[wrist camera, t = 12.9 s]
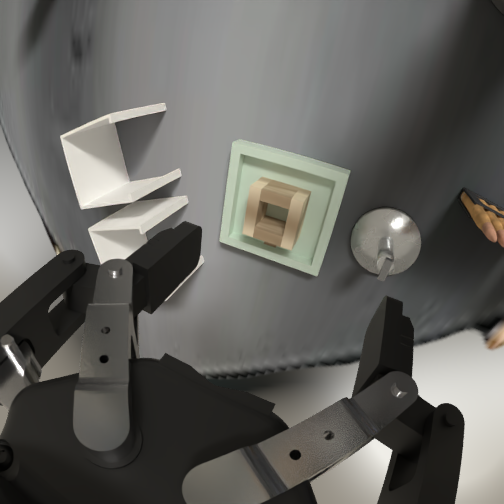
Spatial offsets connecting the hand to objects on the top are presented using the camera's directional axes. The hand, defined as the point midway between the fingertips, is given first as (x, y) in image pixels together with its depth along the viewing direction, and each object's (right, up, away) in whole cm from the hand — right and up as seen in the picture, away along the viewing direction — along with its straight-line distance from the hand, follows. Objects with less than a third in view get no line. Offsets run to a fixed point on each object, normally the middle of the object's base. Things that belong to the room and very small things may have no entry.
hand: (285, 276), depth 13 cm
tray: (+2, +7, +28) cm, 29 cm away
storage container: (-16, +11, +35) cm, 40 cm away
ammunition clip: (+28, +6, +17) cm, 33 cm away
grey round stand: (+15, +2, +25) cm, 29 cm away
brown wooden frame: (+2, +7, +28) cm, 28 cm away
